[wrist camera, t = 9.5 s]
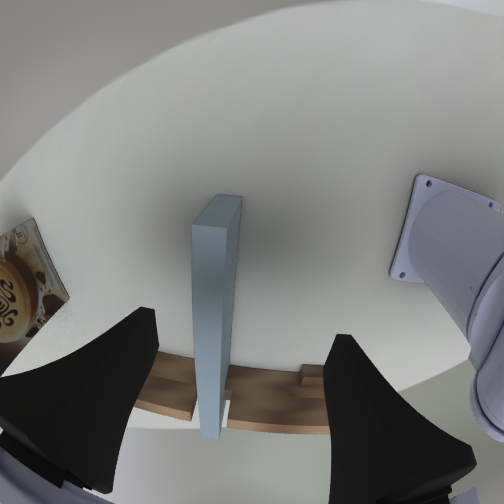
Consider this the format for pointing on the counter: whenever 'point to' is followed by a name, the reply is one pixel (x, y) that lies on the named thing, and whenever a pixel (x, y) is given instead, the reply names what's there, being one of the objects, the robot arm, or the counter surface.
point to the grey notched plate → (214, 304)
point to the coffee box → (25, 290)
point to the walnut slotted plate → (242, 396)
